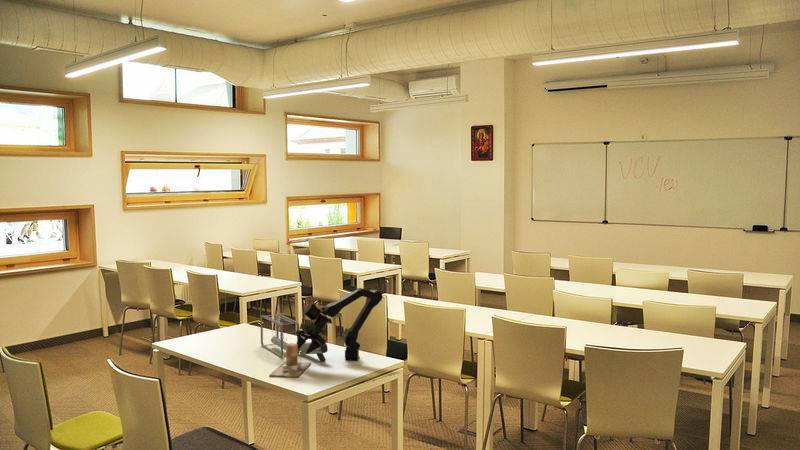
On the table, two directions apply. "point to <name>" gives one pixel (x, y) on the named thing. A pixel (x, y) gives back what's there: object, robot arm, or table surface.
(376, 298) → the robot arm
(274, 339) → the newton's cradle
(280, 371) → the brown board with rail
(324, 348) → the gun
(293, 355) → the tapered tan cup
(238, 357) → the table surface
